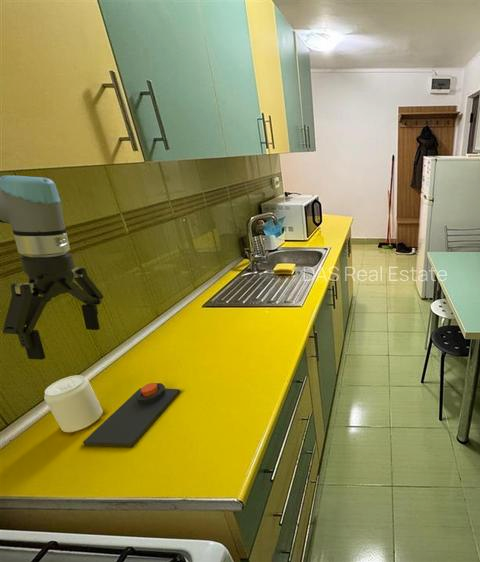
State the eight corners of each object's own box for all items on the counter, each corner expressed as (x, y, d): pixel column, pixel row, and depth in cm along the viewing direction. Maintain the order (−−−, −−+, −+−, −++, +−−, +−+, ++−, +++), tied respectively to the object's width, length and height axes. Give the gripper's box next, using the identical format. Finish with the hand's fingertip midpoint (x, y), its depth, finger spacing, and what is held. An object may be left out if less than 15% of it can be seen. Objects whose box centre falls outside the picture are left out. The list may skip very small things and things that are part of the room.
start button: (152, 396, 83) (150, 391, 83) (139, 396, 83) (137, 391, 83) (161, 387, 87) (159, 382, 86) (149, 387, 87) (147, 382, 86)
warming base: (132, 446, 72) (128, 437, 71) (84, 445, 73) (79, 436, 71) (181, 391, 89) (178, 383, 88) (141, 390, 89) (138, 382, 88)
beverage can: (96, 404, 84) (79, 370, 80) (109, 416, 81) (92, 380, 76) (57, 425, 78) (36, 389, 73) (69, 439, 74) (47, 401, 69)
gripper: (-5, 270, 52) (26, 375, 59) (112, 243, 76) (125, 320, 82) (-51, 267, 52) (-15, 372, 58) (81, 241, 76) (97, 318, 82)
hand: (67, 342), depth 70 cm, fingers open, 13 cm apart
